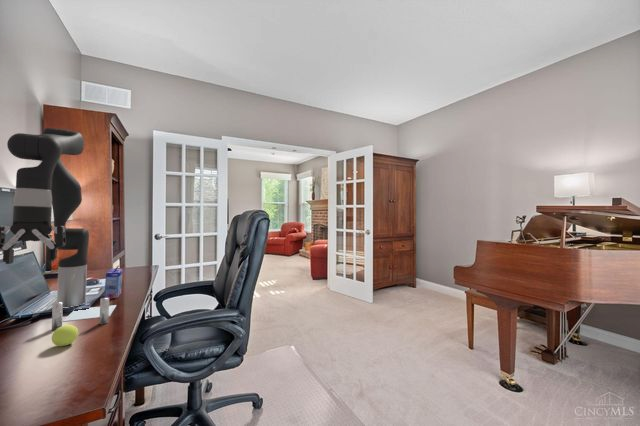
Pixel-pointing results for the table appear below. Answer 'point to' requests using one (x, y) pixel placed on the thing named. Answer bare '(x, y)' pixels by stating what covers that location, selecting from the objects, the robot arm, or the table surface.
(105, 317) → the post
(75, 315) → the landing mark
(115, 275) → the ink cartridge box
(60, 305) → the post
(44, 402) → the table surface
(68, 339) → the ball
